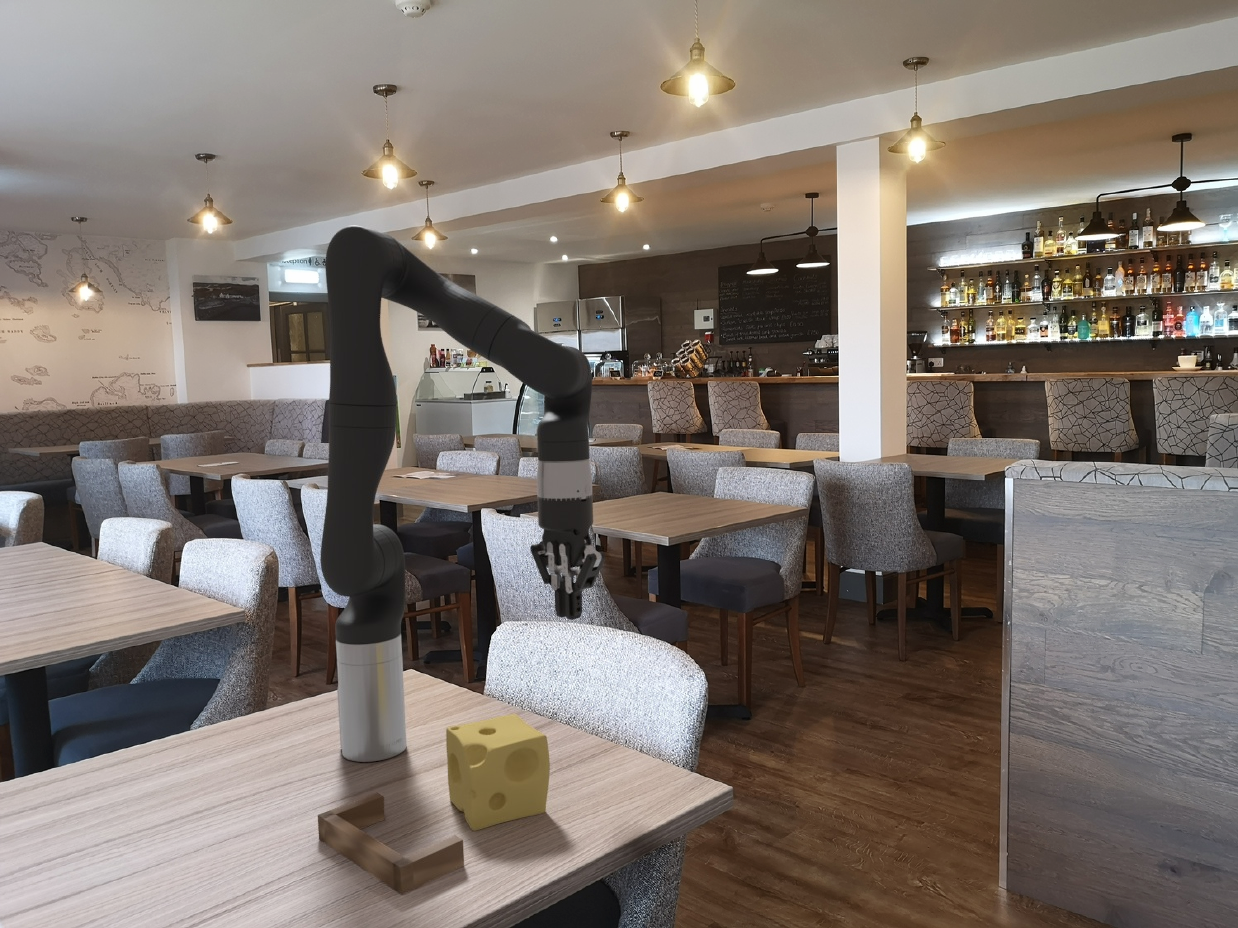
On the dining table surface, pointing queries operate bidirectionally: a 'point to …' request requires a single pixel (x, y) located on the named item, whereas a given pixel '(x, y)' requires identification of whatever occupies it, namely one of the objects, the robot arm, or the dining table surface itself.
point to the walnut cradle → (385, 847)
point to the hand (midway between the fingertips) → (569, 616)
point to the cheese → (497, 770)
